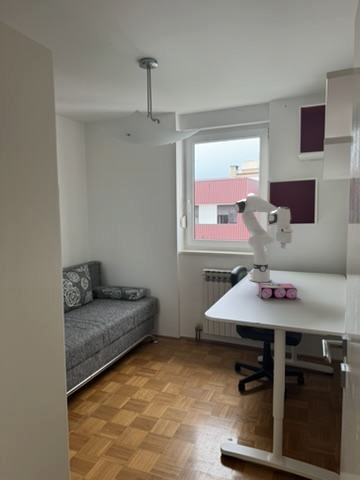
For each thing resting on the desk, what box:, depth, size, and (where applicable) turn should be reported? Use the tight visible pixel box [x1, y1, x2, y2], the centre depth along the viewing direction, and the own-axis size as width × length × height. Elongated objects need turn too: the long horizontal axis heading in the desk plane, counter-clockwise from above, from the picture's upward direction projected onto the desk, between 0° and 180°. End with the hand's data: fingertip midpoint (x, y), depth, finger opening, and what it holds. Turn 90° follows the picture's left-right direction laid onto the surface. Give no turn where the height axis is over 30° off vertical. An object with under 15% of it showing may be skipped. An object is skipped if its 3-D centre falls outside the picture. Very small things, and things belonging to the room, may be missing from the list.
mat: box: [255, 293, 301, 301], centre depth 221 cm, size 14×26×1 cm, turn 94°
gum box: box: [258, 282, 298, 300], centre depth 221 cm, size 24×8×14 cm
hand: (283, 248), depth 238 cm, fingers closed
